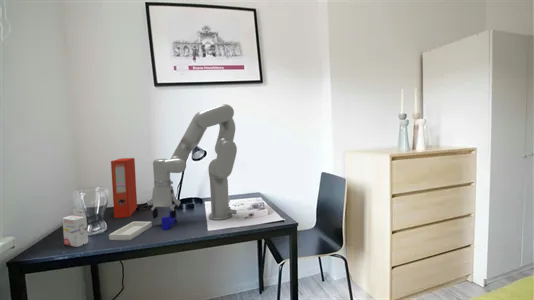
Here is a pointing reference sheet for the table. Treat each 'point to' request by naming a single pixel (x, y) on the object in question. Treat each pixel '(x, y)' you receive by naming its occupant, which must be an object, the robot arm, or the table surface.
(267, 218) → the table surface
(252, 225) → the table surface
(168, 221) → the cable clip
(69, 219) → the ink cartridge box
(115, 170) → the file binder
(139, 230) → the tray
